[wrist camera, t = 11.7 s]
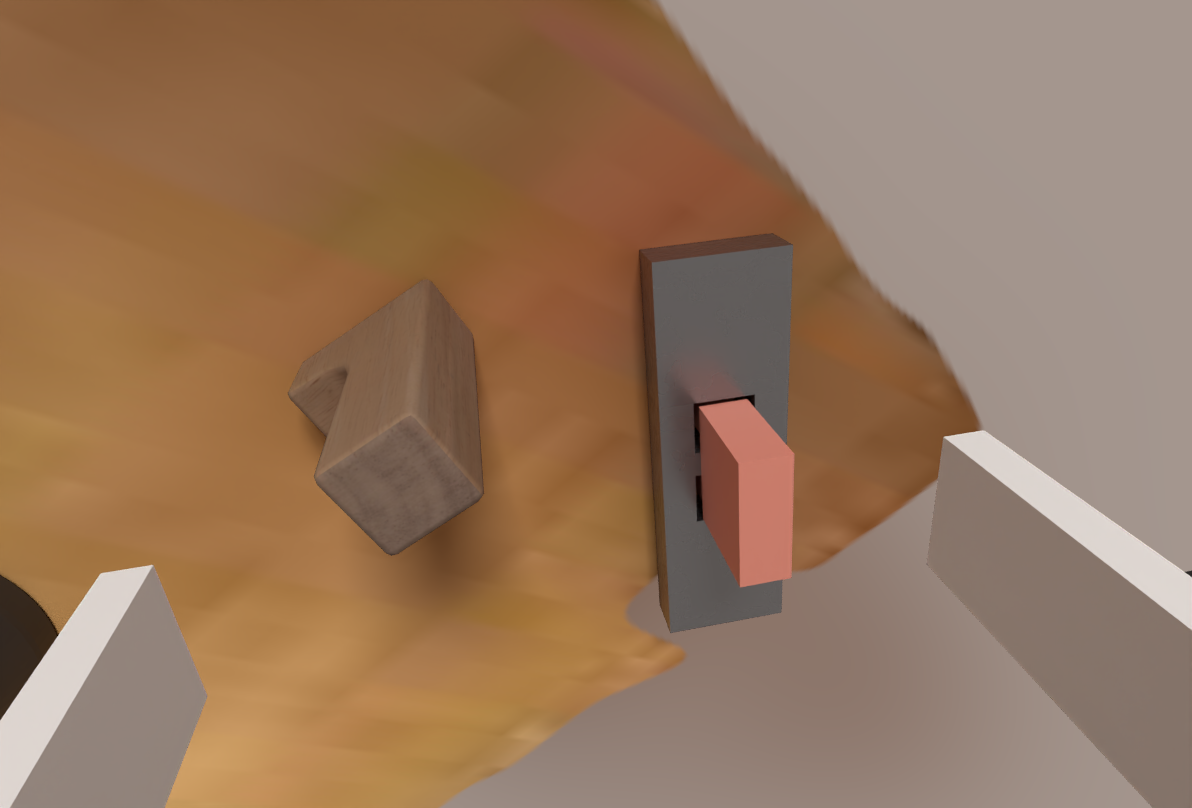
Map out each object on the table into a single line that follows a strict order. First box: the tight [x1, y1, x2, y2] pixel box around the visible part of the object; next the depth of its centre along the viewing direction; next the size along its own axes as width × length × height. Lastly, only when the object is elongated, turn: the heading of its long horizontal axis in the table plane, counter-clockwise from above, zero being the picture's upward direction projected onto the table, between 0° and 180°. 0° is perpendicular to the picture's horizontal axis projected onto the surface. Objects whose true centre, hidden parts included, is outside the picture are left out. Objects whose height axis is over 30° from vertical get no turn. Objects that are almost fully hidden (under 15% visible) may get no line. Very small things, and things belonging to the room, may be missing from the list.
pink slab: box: [694, 398, 794, 587], centre depth 45 cm, size 3×8×10 cm, turn 6°
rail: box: [639, 233, 793, 633], centre depth 48 cm, size 8×26×3 cm, turn 5°
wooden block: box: [288, 280, 484, 556], centre depth 35 cm, size 9×4×18 cm, turn 123°
